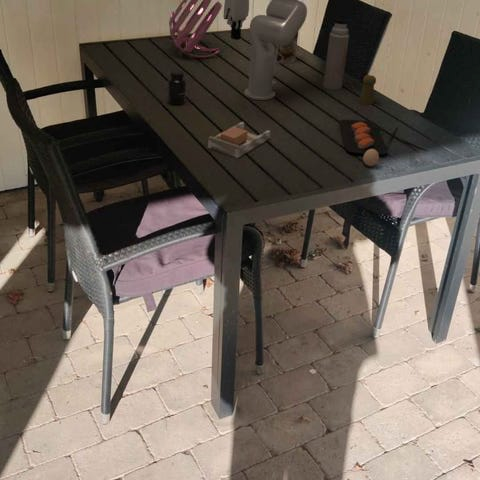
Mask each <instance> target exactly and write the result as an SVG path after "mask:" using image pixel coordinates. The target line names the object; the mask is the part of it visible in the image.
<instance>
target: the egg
mask: <svg viewBox="0 0 480 480" xmlns="http://www.w3.org/2000/svg"><path fill="white" fill-rule="evenodd" d="M379 160H380V155H378V152H377V151H376V150H374V149H369V150H367V151H366V152H365V154H363V163H364V164H365V165H366V166H368V167H373V166H374V167H375V166H376V165H377V164H378V163H379Z"/></svg>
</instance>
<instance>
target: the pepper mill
mask: <svg viewBox="0 0 480 480" xmlns="http://www.w3.org/2000/svg"><path fill="white" fill-rule="evenodd" d="M362 83H363V85H362V87H361V88H362V89H361V91H360V95H359V99H358V101H357V102H358V104H361V105H362V106H371V105H373V104H374V94H375V92H374V91H375V85H376V83H377V77H375V76H374V75H372V74H371V75H370V74H367V75H364V76H363V79H362Z"/></svg>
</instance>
